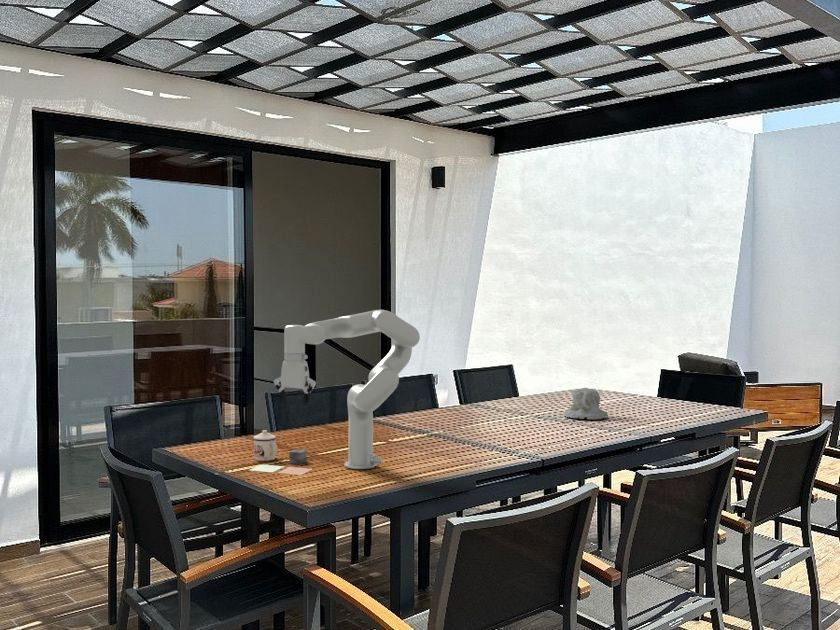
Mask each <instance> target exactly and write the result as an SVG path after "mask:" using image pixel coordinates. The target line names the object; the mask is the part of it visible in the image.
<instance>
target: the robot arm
mask: <svg viewBox="0 0 840 630" xmlns="http://www.w3.org/2000/svg"><path fill="white" fill-rule="evenodd" d="M379 332H380V333H383V334H384V335H385V336H387V337H388V338H390V339H391V348H390V350H389V352H388V353H387V354H386V355H385V356H384V357H383V358H382V359H381V360H380V361H379V362H378V363H377V364H376V365H375V366H374V367H373V368H372V369H371V370H370V372H369V374H368V382H367V383H366V384H364V383H363V384H361V383H360V384H358V383H357V384H355V385H353V386H352V387H350V389H349V390H348V393H347V399H346V400H347V401H346V402H347V404H346V405H347V413H348V429H347V431H348V445H347V446H348V453H347V455H348V459H347V460H346V461H345V462H344V467H346V468H347V469H352V470H353V469H354V470H368V469H373V468H375V466H376V467H377V465H378V464H383V458H382V457H377V456H376V453H374V446H373V445H374V414H373V413H374V412H373V411H375V410H376V409H378V408H379V407H380V406H381V405H382V404H383V403H384V402H385V401H386V400H387V399H388V398H389V397H390V395H392V394H393V393H394V391H395V390H396V389H397V388H398V386H399V381H400V375H399V374H401V372H402V371H403V370H404V368H405V367H406V366H407V365H408V363H409V361H410V360H411V357H412V352H413V347H416V346H417V345H418V344H419V342H420V338H421V335H420V332H419V330H418V329H417V328H416V327H415V326H413V325H412V324H410V323H408V322H407V321H405V320H404V319H402V318H400V317H399V316H397V315H396V314H395V313H393V312H391V311H389V310H385V309H373V310H369V311H365V312H359V313H355V314H350V315H345V316H339V317H336V318H331V319H324V320H320V321H319V320H318V321H314V322H310V323H308V324H306V325H302V324H288V325H286V326H285V327H284V332H283V333H284V335H283V336H284V337H283V338H284V339H283V340H284V342H283V344H284V352H283V353H284V356H283V357H284V360H283V361H282V365H281V372H280V376H279V377H277V378H275V379H273V383H274V386H275V389H277V390H278V393H279V401H280V402H279V403H280V404H283V403H286V402H287V392H286V389H301V390H302V391H303V392H304V393H303V397H302V399H303V405H308V404H309V403H310V399H311V397H310V396H311V395H310V394H311V393H312V392H313V390H314V389H315V387H316V384H317V381H315V380H313V379H312V378H310V372H309V371H310V370H309V366H308V365H309V364H308V361H306V360H307V359H308V356H309V355H307V354H306V353H305V352H306V349H305V348H306V346H305V345H306V344H308V345H321V344H322V343H324V342H325V340H330V339H337V338H343V339H344V338H345V339H346V338H347V339H348V338H349V339H350V338H355V337H360V336H364V335H370V334H374V333H379Z"/></svg>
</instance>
